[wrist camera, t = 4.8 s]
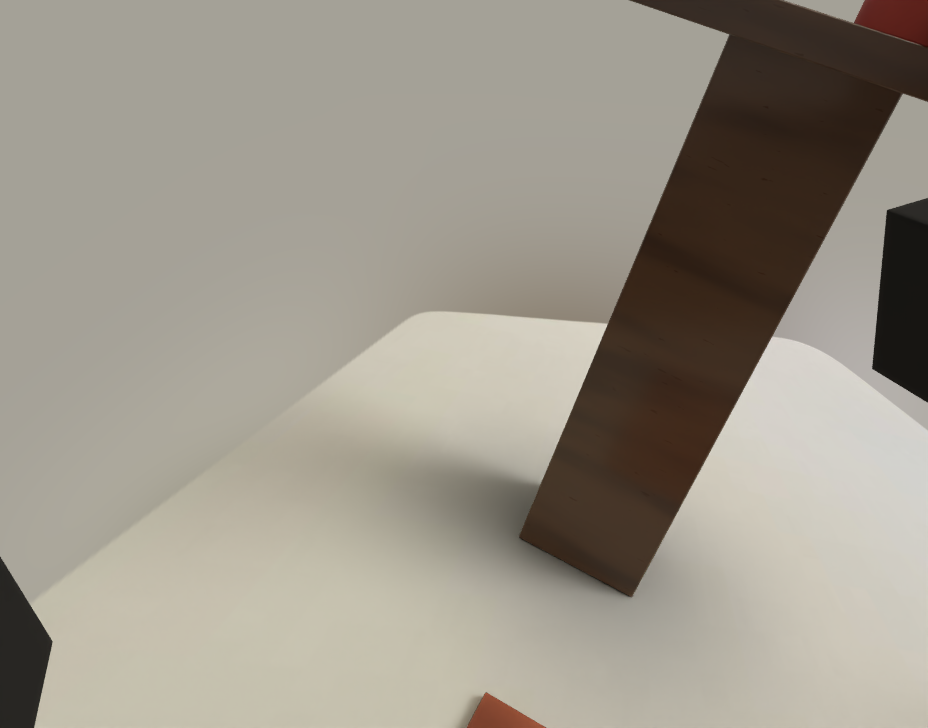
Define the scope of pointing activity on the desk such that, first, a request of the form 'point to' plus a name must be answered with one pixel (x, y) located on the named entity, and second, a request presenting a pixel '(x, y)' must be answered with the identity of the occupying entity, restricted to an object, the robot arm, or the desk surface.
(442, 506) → the desk surface
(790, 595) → the desk surface
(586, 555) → the stand
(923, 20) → the red spoon
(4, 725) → the robot arm
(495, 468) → the desk surface
